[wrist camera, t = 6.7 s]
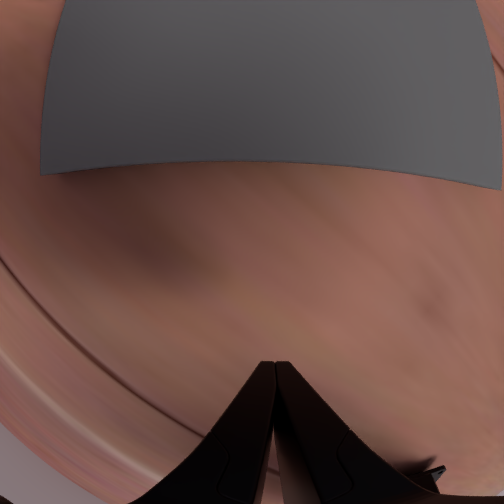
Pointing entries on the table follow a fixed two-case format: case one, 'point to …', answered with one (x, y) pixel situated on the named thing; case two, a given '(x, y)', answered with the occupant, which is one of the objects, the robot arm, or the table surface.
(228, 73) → the mat
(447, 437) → the table surface
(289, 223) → the table surface
